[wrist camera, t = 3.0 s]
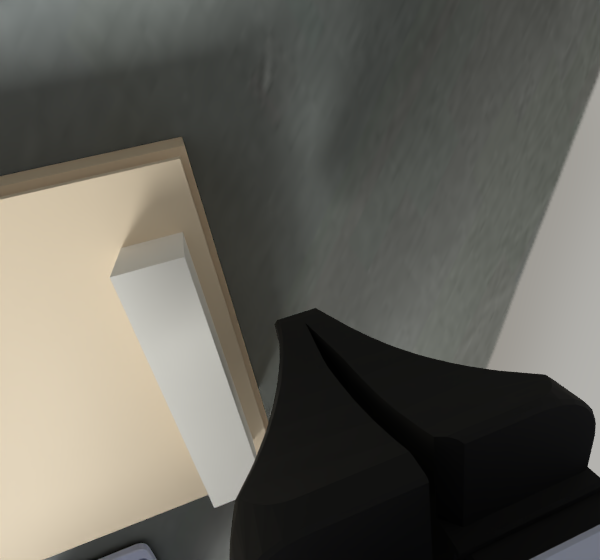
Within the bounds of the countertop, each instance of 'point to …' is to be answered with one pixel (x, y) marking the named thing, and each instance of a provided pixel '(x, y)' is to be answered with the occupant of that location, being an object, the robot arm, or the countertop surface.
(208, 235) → the tray
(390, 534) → the robot arm
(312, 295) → the countertop surface
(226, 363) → the mailer lid
